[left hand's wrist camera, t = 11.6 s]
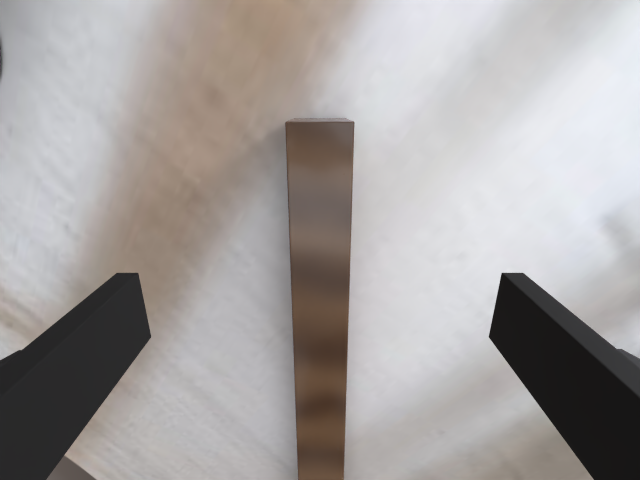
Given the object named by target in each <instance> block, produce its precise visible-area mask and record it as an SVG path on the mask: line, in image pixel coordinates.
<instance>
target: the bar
mask: <svg viewBox="0 0 640 480" xmlns="http://www.w3.org/2000/svg"><path fill="white" fill-rule="evenodd" d="M285 124H286V151H287V179H288V207H289V235H290V263H291V291H292V319H293V346H294V374H295V402H296V430H297V458H298V480H344V450H345V416H346V383H347V349H348V316H349V282H350V249H351V215H352V182H353V148H354V122H353V121H351V120H348V119H346V118H304V119H292V120H290V121H287V122H286V123H285Z"/></svg>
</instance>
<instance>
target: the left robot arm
mask: <svg viewBox="0 0 640 480" xmlns="http://www.w3.org/2000/svg"><path fill="white" fill-rule="evenodd" d="M0 69H1V50H0ZM150 338H151V334H150V329H149V324H148V319H147V314H146V309H145V304H144V299H143V294H142V289H141V284H140V280H139V275H138V273H116V274H115V275H114V276H113V277H111V278H110V279H109V280H108V281H106V282H105V283H104V284H103V285H102V286H100V287H99V288H98V289H97V290H95V291H94V292H93V293H92V294H90V295H89V296H88V297H87V298H86V299H84V300H83V301H82V302H81V303H79V304H78V305H77V306H76V307H74V308H73V309H72V310H71V311H70V312H68V313H67V314H66V315H65V316H63V317H62V318H61V319H60V320H58V321H57V322H56V323H55V324H54V325H52V326H51V327H50V328H49V329H47V330H46V331H45V332H44V333H42V334H41V335H40V336H39V337H38V338H36V339H35V340H34V341H33V342H31V343H30V344H29V345H28V346H27V347H25V348H24V349H23V350H19V351H17V352H15V353H13V354H11V355H9V356H7V357H6V358H4V359H2V360H0V480H46V479H47V478H48V476H49V475H50V473H51V472H52V471H53V469H54V468H55V467H56V465H57V464H58V463H59V461H60V460H61V459H62V457H63V456H64V455H65V453H66V452H67V450H68V449H69V448H70V446H71V445H72V444H73V442H74V441H75V440H76V438H77V437H78V436H79V434H80V433H81V431H82V430H83V429H84V427H85V426H86V425H87V423H88V422H89V421H90V419H91V418H92V417H93V415H94V414H95V412H96V411H97V410H98V408H99V407H100V406H101V404H102V403H103V402H104V400H105V399H106V398H107V396H108V395H109V393H110V392H111V391H112V389H113V388H114V387H115V385H116V384H117V383H118V381H119V380H120V379H121V377H122V376H123V375H124V373H125V372H126V370H127V369H128V368H129V366H130V365H131V364H132V362H133V361H134V360H135V358H136V357H137V356H138V354H139V353H140V351H141V350H142V349H143V347H144V346H145V345H146V343H147V342H148V341H149V339H150ZM489 338H490V339H491V341H492V342H493V343H494V345H495V346H496V347H497V349H498V350H499V351H500V353H501V354H502V356H503V357H504V358H505V360H506V361H507V362H508V364H509V365H510V366H511V368H512V369H513V370H514V372H515V373H516V375H517V376H518V377H519V379H520V380H521V381H522V383H523V384H524V385H525V387H526V388H527V389H528V391H529V392H530V393H531V395H532V396H533V398H534V399H535V400H536V402H537V403H538V404H539V406H540V407H541V408H542V410H543V411H544V412H545V414H546V415H547V417H548V418H549V419H550V421H551V422H552V423H553V425H554V426H555V427H556V429H557V430H558V431H559V433H560V434H561V436H562V437H563V438H564V440H565V441H566V442H567V444H568V445H569V446H570V448H571V449H572V450H573V452H574V453H575V455H576V456H577V457H578V459H579V460H580V461H581V463H582V464H583V465H584V467H585V468H586V469H587V471H588V472H589V474H590V475H591V476H592V478H593V479H594V480H640V359H639V358H637V357H635V356H633V355H632V354H630V353H628V352H626V351H624V350H622V349H616V348H615V347H613V346H612V345H611V344H610V343H609V342H607V341H606V340H605V339H604V338H602V337H601V336H600V335H599V334H598V333H596V332H595V331H594V330H593V329H591V328H590V327H589V326H588V325H586V324H585V323H584V322H583V321H582V320H580V319H579V318H578V317H577V316H575V315H574V314H573V313H572V312H570V311H569V310H568V309H567V308H566V307H564V306H563V305H562V304H561V303H559V302H558V301H557V300H556V299H554V298H553V297H552V296H551V295H550V294H548V293H547V292H546V291H545V290H543V289H542V288H541V287H540V286H538V285H537V284H536V283H535V282H534V281H532V280H531V279H530V278H529V277H527V276H526V275H525V274H524V273H502V275H501V280H500V284H499V289H498V294H497V299H496V304H495V309H494V314H493V319H492V324H491V329H490V334H489Z"/></svg>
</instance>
